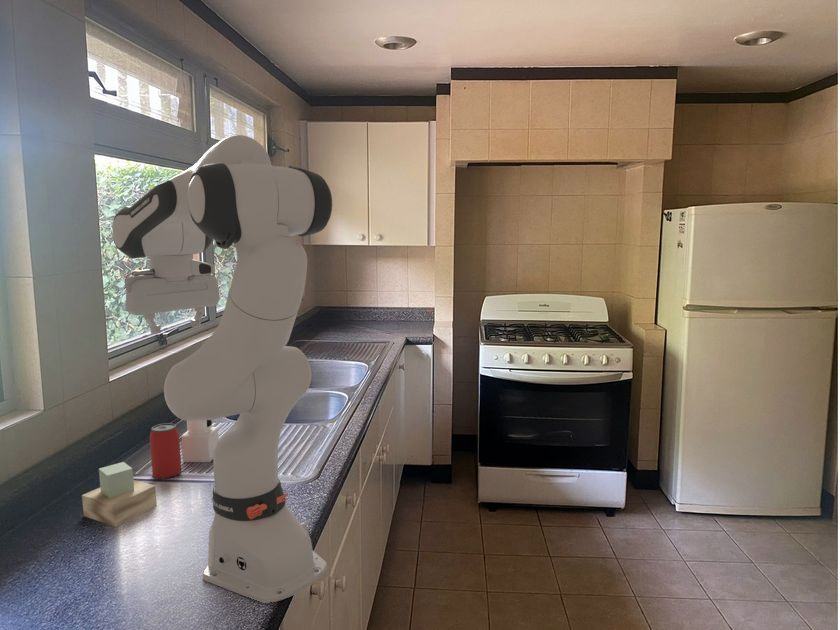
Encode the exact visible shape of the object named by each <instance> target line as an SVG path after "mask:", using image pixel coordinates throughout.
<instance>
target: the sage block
mask: <svg viewBox="0 0 840 630" xmlns="http://www.w3.org/2000/svg"><path fill="white" fill-rule="evenodd" d="M98 475H99V488H101V492H103V493H104V494H105V495H106V496H107V497H108V498H113V497H116V496H119V495H122V494H126V493H129V492H132V491H134V481H133V480H134V472H133V467H131V466H130V465H129V464H127V463H126V462H124V461H122V462H118V463H114V464H110V465H107V466H104V467H100V468H98Z"/></svg>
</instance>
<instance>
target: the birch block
mask: <svg viewBox="0 0 840 630" xmlns="http://www.w3.org/2000/svg"><path fill="white" fill-rule="evenodd" d="M133 481H134V491H132V492H129V493H126V494H122V495H119V496H116V497H113V498H108V497H107V496H106V495H105V494H104V493H103V492H101V488H100V487H98V488H95V489H93V490H90V491H88V492H86V493H84V494H81V501H82V509H83V510H82V511H83V517H85V518H88V519H92V520H94V521H98V522H101V523H104V524H105V525H110V526H113V527H115V528H116V527H118V526H120V525H123V524H124V523H127V522H128V521H130V520H132V519H134V518H136V517H138V516H140V515H143V514H144V513H146V512H148V511H150V510H152V509H154V508H155V507H157V506H158V505H157V503H158V502H157V491H156V485H154V484H151V483H147V482H143V481H139V480H135V479H133Z"/></svg>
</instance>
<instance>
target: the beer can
mask: <svg viewBox="0 0 840 630" xmlns="http://www.w3.org/2000/svg"><path fill="white" fill-rule="evenodd" d="M150 430H151V431H150V433H149V447H150V457H151V458H150V459H151V473H152V476H153V477H154V478H156V479H160V480H161V479H162V478H164V479H169V478H170V477H171V478H174V477H176V476H178V475H179V474H180V473H181V471H182V457H181V456H182V455H181V442H180V433H179V430H178V428H177V424H175V423H172V422H170V423H169V422H165V423H159V424H155V425H154V426H152V427H150ZM173 476H174V477H173Z"/></svg>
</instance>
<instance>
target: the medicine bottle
mask: <svg viewBox="0 0 840 630" xmlns="http://www.w3.org/2000/svg"><path fill="white" fill-rule="evenodd" d="M186 429H187V431H186V432H184V433H183V434H182V435H181V436H180V438H181V439H180V440H181V442H180V443H181V454H182V455H181V456H182V457H181V458H182V462H183V463H211V461H212V460H213V450H214V447H215V445H216V443H217V441H218V440H219V438H220V437H219V435H220V434H219V427H218V426H213V421H212V420H186Z"/></svg>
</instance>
